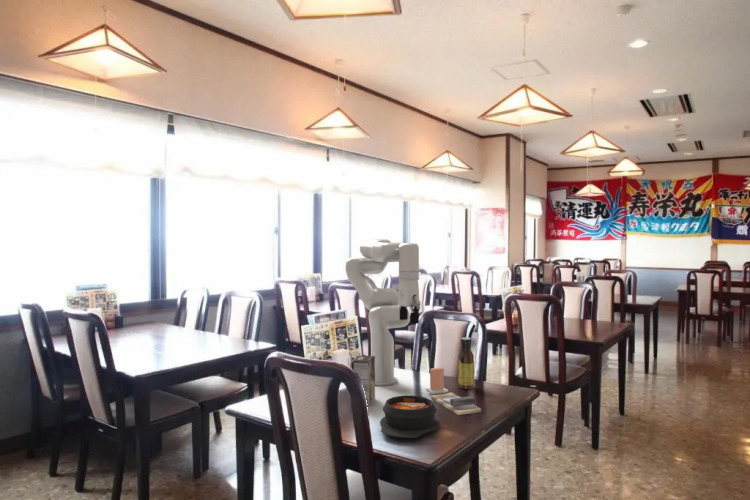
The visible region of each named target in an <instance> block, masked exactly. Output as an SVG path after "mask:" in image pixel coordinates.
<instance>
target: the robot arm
mask: <svg viewBox="0 0 750 500" xmlns="http://www.w3.org/2000/svg"><path fill="white" fill-rule="evenodd" d="M359 252H360V254H361V255H355V256H352V257H350V258H348V259H347V260H346V262H345V273H346V277H347V279H348V281H349V283H350V284H351V285H352V286H353V288H354V289H355V290H356V292H357V294H358V295H359V298H360V299H361V302H362V303H363V305H364V307H365V308H366V309H367V310H368V311H369V312H368V324H369V331H370V356H375V386H378V387H379V386H380V387H381V386H384V387H385V386H391V385H392V386H393V385H395V384H397V383H398V382H399V380H398V377H396V376H395V361H394V360H395V343H394V336H393V335H392V334H391V332H390V330H389V329H396V328H397V329H398V328H404V327H406V326H408V325H409V323H410V324H412V325H413V324H419V323H420V322H419V321H420V309H421V300H420V288H419V286H420V285H419V281H420V268H419V267H420V247H419V245H418V243H413V242H409V243H408V242H392V241H391V240H389V239H384V238H370V239H365V240H363V242H361V243H360V245H359ZM388 263H398V287H397V290H396V289H395V288H391V287H388V288H387V287H386V288H385V287H384V288H383V287H381V288H379V287H378V286H377V285H376V283H375V281H374V280H373V279H372V278H370V277H369V276H367V275H379V274H381V273H383V272H384V271H385V269H386V268H387V266H388ZM408 308H409V309H410V311H409V309H408Z"/></svg>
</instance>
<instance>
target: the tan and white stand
mask: <svg viewBox="0 0 750 500" xmlns="http://www.w3.org/2000/svg"><path fill="white" fill-rule="evenodd" d="M444 370H445V369H444V367H434V368H433V367H431V368H430V369H429V379H430V380H429V382H430V383H429V386H430V387H428V388H427V387H426V388H425V391H426V392H427V393H429V394H430V395H438V394H446V393H449V389H447V388H445V386H444V385H445V383H444V381H445V380H444V379H445V377H444V376H445V375H444V374H445V373H444V372H445V371H444Z"/></svg>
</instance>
